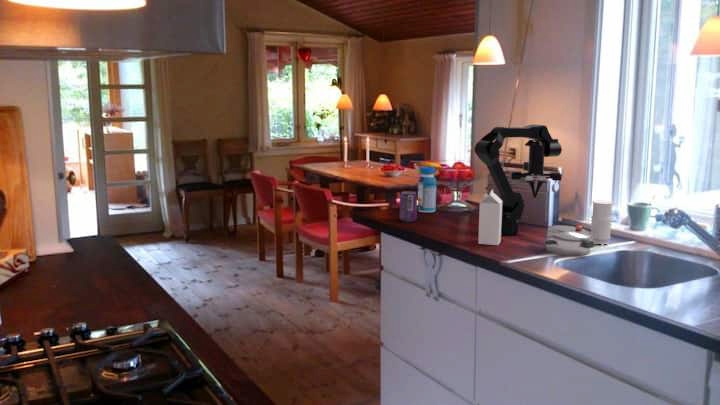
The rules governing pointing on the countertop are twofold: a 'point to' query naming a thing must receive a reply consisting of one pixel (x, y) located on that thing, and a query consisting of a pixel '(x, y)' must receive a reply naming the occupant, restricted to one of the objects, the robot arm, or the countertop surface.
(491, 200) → the milk carton
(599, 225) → the white cylinder
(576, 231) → the cooker lid
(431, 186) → the beverage bottle
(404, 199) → the beverage can
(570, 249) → the cooker pot
